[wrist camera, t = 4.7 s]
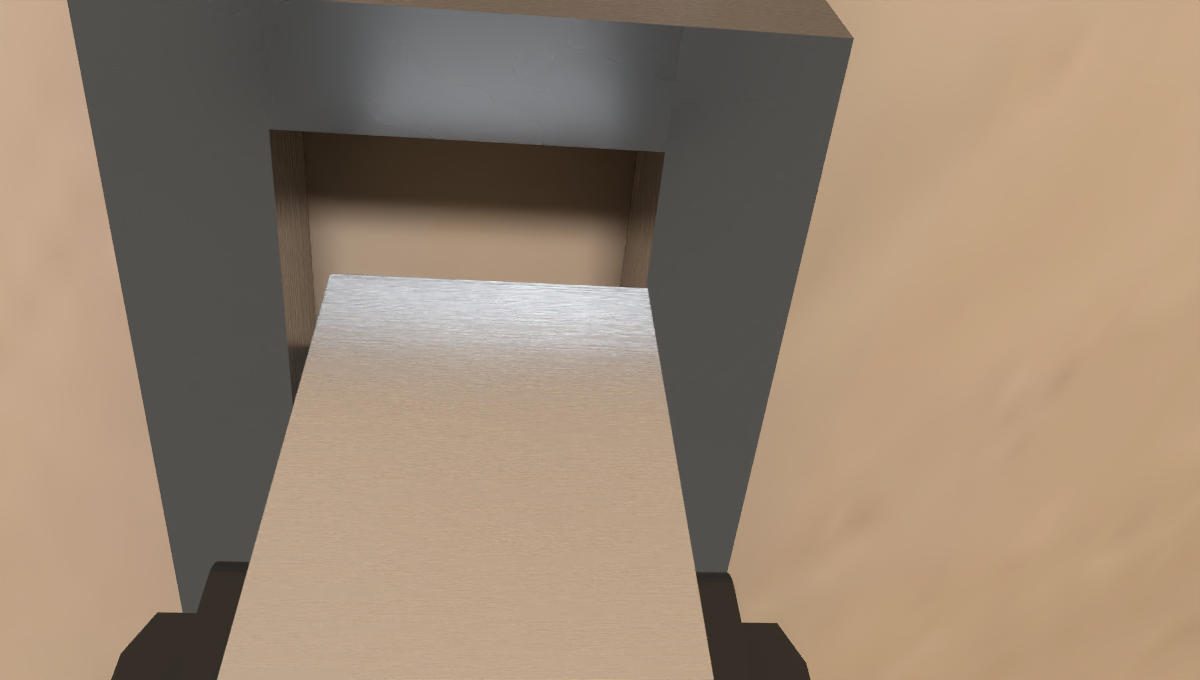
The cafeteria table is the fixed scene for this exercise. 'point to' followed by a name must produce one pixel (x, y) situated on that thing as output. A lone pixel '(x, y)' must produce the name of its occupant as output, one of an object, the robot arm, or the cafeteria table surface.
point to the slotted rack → (453, 112)
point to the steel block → (474, 495)
